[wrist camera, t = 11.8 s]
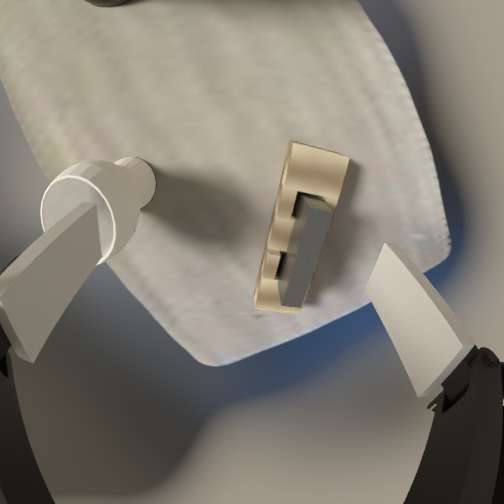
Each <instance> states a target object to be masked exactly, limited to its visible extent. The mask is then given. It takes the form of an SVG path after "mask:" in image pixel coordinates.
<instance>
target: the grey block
mask: <svg viewBox="0 0 504 504" xmlns="http://www.w3.org/2000/svg"><path fill="white" fill-rule="evenodd" d="M293 211H294V213H295V215H296V217H295V221H294V225H293V229H292V232H291V236H290V240H289V243H288V247H287V251H286V254H285V255H283V254H281V258H280V261H279V265H278V270H279V275H280V276H279V279H278V283H277V284H278V290H279V296H280V301H281V306H288V307H296V308H301V306H302V304H303V301H304V298H305V295H306V293H307V290H308V287H309V284H310V282H311V279H312V276H313V273H314V270H315V267H316V264H317V261H318V258H319V255H320V252H321V249H322V246H323V243H324V240H325V237H326V234H327V231H328V228H329V224H330V221H331V218H332V215H333V212H332V210H331V209H330V208H329V207H328V206H327V205H326V204H325V202H324V201H323V200H322V199H320V198H315V197H311V196H306V195H301V196H299V195H297V196H296V200H295V204H294V208H293Z"/></svg>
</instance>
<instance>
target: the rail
mask: <svg viewBox="0 0 504 504" xmlns="http://www.w3.org/2000/svg"><path fill="white" fill-rule="evenodd" d="M349 159H350V158H349V157H347V156H344V155H342V154H340V153H336V152H333V151H329V150H326V149H322V148H318V147H314V146H310V145H306V144H302V143H298V142H294V141H289V146H288V150H287V155H286V159H285V164H284V168H283V172H282V177H281V181H280V186H279V190H278V194H277V199H276V203H275V207H274V212H273V216H272V220H271V225H270V229H269V233H268V237H267V242H266V246H265V250H264V254H263V259H262V263H261V267H260V271H259V275H258V279H257V284H256V288H255V292H254V299H255V309H259V310H268V311H276V312H285V313H294V314H300V312H301V309H302V307H303V304H304V301H305V299H306V296H307V293H308V290H309V288H310V285H311V282H312V279H313V276H314V274H315V271H316V268H317V265H318V261H317V264H316V267H315V270H314V273H313V276H312V279H311V282H310V284H309V287H308V290H307V293H306V295H305V298H304V301H303V304H302V306H301V308H296V307H288V306H281V301H280V296H279V290H278V284H277V283H278V279H279V276H280V275H279V270H278V265H279V261H280V258H281V254H283V255H285V254H286V251H287V247H288V243H289V240H290V236H291V232H292V229H293V225H294V221H295V217H296V215H295V213H294V211H293V208H294V204H295V200H296V196H297V195H299V196H301V195H306V196H311V197H315V198H320V199H322V200H323V201H324V202H325V204H326V205H327V206H328V207H329V208H330V209H331V210H332V212H333V215H332V218H331V221H330V224H329V227H330V225H331V222H332V219H333V216H334V212H335V209H336V206H337V202H338V199H339V195H340V192H341V188H342V185H343V181H344V178H345V174H346V170H347V167H348V163H349Z"/></svg>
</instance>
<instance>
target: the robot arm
mask: <svg viewBox="0 0 504 504" xmlns="http://www.w3.org/2000/svg"><path fill="white" fill-rule="evenodd" d="M85 1H87V2H88V3H90V4H92V5H94V6H98V7H110V6H116V5H120V4H123V3H126V2H128V1H131V0H85ZM101 258H102V252H101V244H100V235H99V225H98V213H97V203H88V202H83V203H81V204H80V205H79V206H77V207H76V208H75V209H73V210H72V211H71V212H69V213H68V214H67V215H66V216H64V217H63V218H62V219H61V220H59V221H58V222H57V223H56V224H55V225H53V226H52V227H51V228H50V229H49V230H47V231H46V232H45V233H44V234H43V235H42V236H41V237H39V238H38V239H37V240H36V241H35V242H34V243H33V244H32V245H31V246H29V247H28V248H27V249H26V250H25V251H24V252H23V253H22V254H20V255H19V256H17V257H15V258H14V259H13V260H12V261H11V262H10V263H9V264H8V265H7V267H5V268H4V269H3V270H2V272H1V274H0V504H55V502H54V500H53V498H52V496H51V494H50V492H49V490H48V488H47V486H46V484H45V481H44V479H43V477H42V475H41V472H40V470H39V467H38V465H37V462H36V460H35V457H34V455H33V451H32V449H31V446H30V443H29V440H28V436H27V433H26V430H25V426H24V423H23V420H22V415H21V411H20V407H19V403H18V398H17V394H16V388H15V383H14V377H13V371H12V363H11V357H10V354H9V353H8V349H9V348H10V346H11V345H12V347H13V349H14V351H15V352H16V354H17V355H18V357H20V358H22V359H24V360H27V361H29V362H31V363H34V361H35V359H36V357H37V355H38V354H39V352H40V350H41V348H42V346H43V345H44V343H45V341H46V339H47V338H48V336H49V334H50V332H51V331H52V329H53V328H54V326H55V324H56V323H57V321H58V320H59V318H60V316H61V315H62V313H63V312H64V310H65V308H66V307H67V306H68V304H69V303H70V301H71V300H72V298H73V297H74V295H75V294H76V292H77V291H78V289H79V288H80V286H81V285H82V284H83V282H84V281H85V279H86V278H87V277H88V275H89V274H90V272H91V271H92V270H93V268H94V267H95V266H96V265H97V263H98V262H99V261H100V259H101ZM365 291H366V292H367V294H368V296H369V298H370V300H371V301H372V303H373V305H374V307H375V309H376V310H377V313H378V315H379V316H380V318H381V320H382V322H383V324H384V326H385V328H386V330H387V332H388V334H389V336H390V338H391V340H392V342H393V344H394V346H395V348H396V350H397V352H398V354H399V356H400V358H401V360H402V363H403V365H404V367H405V369H406V371H407V373H408V375H409V378H410V380H411V382H412V384H413V387H414V389H415V392H416V394H417V396H418V397H423V396H427V395H431V394H432V393H433V392H434V391H435V390H436V389H437V388H438V387H439V386H440V385H442V387H443V389H444V390H443V391H442V392H441V393H440V394H439V395H438V396H437V397H436V398H435V399H434V400H433V401H432V402H431V403H430V404H429V405H428V407H427V408H428V409H430V407H432V406H433V405H434V404H437V406H435V407H434V408H433V409H432V411H434V412H435V414H434V419H433V423H432V427H431V430H430V434H429V437H428V441H427V444H426V448H425V450H424V453H423V456H422V459H421V462H420V465H419V468H418V471H417V473H416V476H415V478H414V481H413V483H412V485H411V488H410V491H409V492H408V495H407V497H406V499H405V501H404V503H403V504H504V406H503V399H504V362H500V361H499V359H498V358H497V356H496V355H495V354H494V353H493V352H492V351H491V350H490V349H488V348H485V347H481V348H480V349H478V348H477V347H476V345H475V343H474V341H473V340H472V338H471V337H470V336H469V334H468V332H467V331H466V330H465V328H464V327H463V325H462V324H461V322H460V321H459V320H458V319H457V317H456V316H455V314H454V313H453V311H452V310H451V309H450V308H449V306H448V305H447V303H446V302H445V301H444V300H443V298H442V297H441V296H440V294H439V293H438V292H437V291H436V289H435V288H434V287H433V286H432V285H431V283H430V282H429V281H428V279H427V278H426V277H425V276H424V275H423V273H422V272H421V271H420V270H419V269H418V268H417V266H416V265H415V264H414V263H413V262H412V261H411V259H410V258H409V257H408V256H407V255H406V254H405V253H404V252H403V250H402V249H401V248H400V247H399V246H398V245H397V244H392V243H386V242H385V243H384V246H383V248H382V251H381V253H380V255H379V258H378V260H377V263H376V265H375V267H374V270H373V272H372V274H371V277H370V279H369V281H368V283H367V285H366V288H365Z"/></svg>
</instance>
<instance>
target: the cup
mask: <svg viewBox="0 0 504 504" xmlns="http://www.w3.org/2000/svg"><path fill="white" fill-rule="evenodd" d="M155 187H156V181H155V176H154V173H153V171H152V169H151V168H150V166H149V165H148V164H147V163H146V162H144V161H143V160H142V159H139V158H137V157H125V158H122V159H120V160H118V161H117V162H115V163H112V162H108V161H103V160H88V161H84V162H80V163H78V164H75V165H73V166H70V167H69V168H68V169H66V170H65V171H63V172H62V173H61V174H60V175H59V176H58V177H57V178H56V179H55V180H54V181H53V182H52V183H51V184H50V185H49V187H48V188H47V189H46V191H45V193H44V196H43V199H42V204H41V212H40V213H41V221H42V226H43V230H44V233H45V232H46V231H47V230H49V229H50V228H51V227H52V226H53V225H55V224H56V223H57V222H58V221H59V220H61V219H62V218H63V217H64V216H66V215H67V214H68V213H69V212H71V211H72V210H73V209H75V208H76V207H77V206H79V205H80V204H81V203H83V202H88V203H97V213H98V225H99V235H100V244H101V252H102V258H101V259H100V261H99V262H98V263H97V265H99V264H101V263H103V262H105V261H106V260H108V259H110V258H111V257H113V256H115V255H116V254H117V253H118V252H119V251H121V250H122V249H123V248H124V246H125V245H126V244H127V243H128V241H129V240H130V238H131V237H132V235H133V234H134V232H135V230H136V226H137V223H138V219H139V215H140V208H142V207H144V206H145V205H146V204H147V203H149V202H150V200H151V199H152V197H153V195H154V192H155Z"/></svg>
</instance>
